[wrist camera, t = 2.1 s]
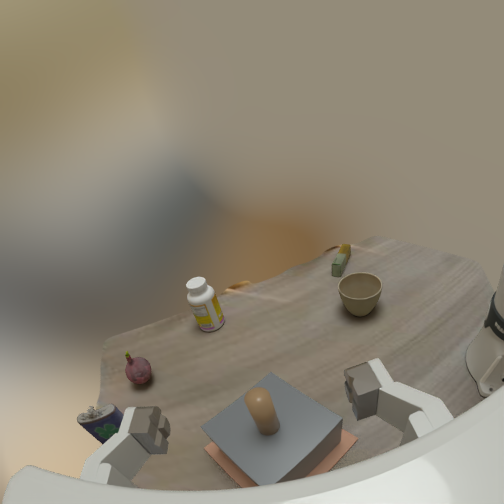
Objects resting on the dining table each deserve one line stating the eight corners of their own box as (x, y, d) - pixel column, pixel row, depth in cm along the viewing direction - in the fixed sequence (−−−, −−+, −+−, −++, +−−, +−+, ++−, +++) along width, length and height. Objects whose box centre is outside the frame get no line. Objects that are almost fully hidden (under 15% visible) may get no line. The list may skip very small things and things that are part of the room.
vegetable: (138, 395, 52) (115, 366, 47) (131, 378, 57) (110, 349, 52) (161, 383, 55) (140, 353, 50) (153, 367, 59) (134, 337, 55)
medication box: (341, 278, 75) (340, 265, 73) (331, 276, 76) (330, 264, 74) (350, 255, 83) (350, 243, 82) (342, 254, 85) (342, 243, 83)
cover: (340, 441, 36) (344, 387, 28) (276, 501, 28) (250, 475, 21) (279, 400, 46) (261, 337, 38) (219, 448, 39) (178, 398, 31)
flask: (137, 425, 45) (108, 395, 40) (140, 436, 43) (110, 407, 38) (101, 437, 42) (69, 410, 37) (103, 448, 40) (70, 421, 35)
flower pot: (384, 299, 63) (386, 274, 59) (374, 327, 56) (376, 302, 53) (347, 293, 68) (346, 269, 65) (332, 319, 62) (331, 294, 58)
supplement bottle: (217, 311, 74) (202, 270, 68) (229, 323, 69) (214, 280, 63) (195, 323, 71) (178, 283, 65) (206, 336, 66) (188, 294, 60)
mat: (357, 439, 35) (358, 438, 35) (276, 517, 26) (276, 517, 26) (279, 389, 48) (279, 387, 48) (204, 448, 39) (203, 448, 39)
